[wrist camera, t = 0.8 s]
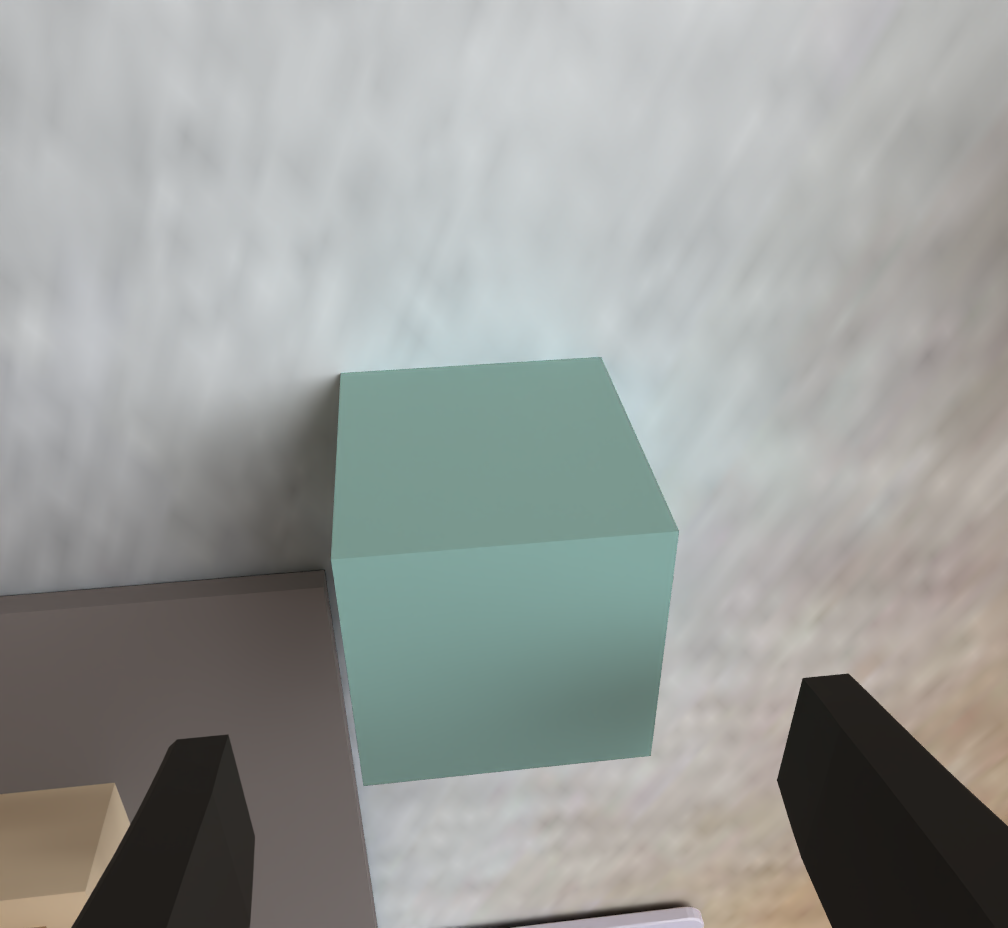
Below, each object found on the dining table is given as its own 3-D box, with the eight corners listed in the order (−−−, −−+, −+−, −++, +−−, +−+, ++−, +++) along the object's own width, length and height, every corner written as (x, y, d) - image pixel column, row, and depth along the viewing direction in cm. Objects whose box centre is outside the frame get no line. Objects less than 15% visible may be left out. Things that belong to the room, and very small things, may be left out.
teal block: (588, 554, 19) (650, 756, 15) (364, 573, 18) (363, 786, 14) (599, 356, 16) (678, 531, 12) (340, 371, 16) (331, 559, 12)
